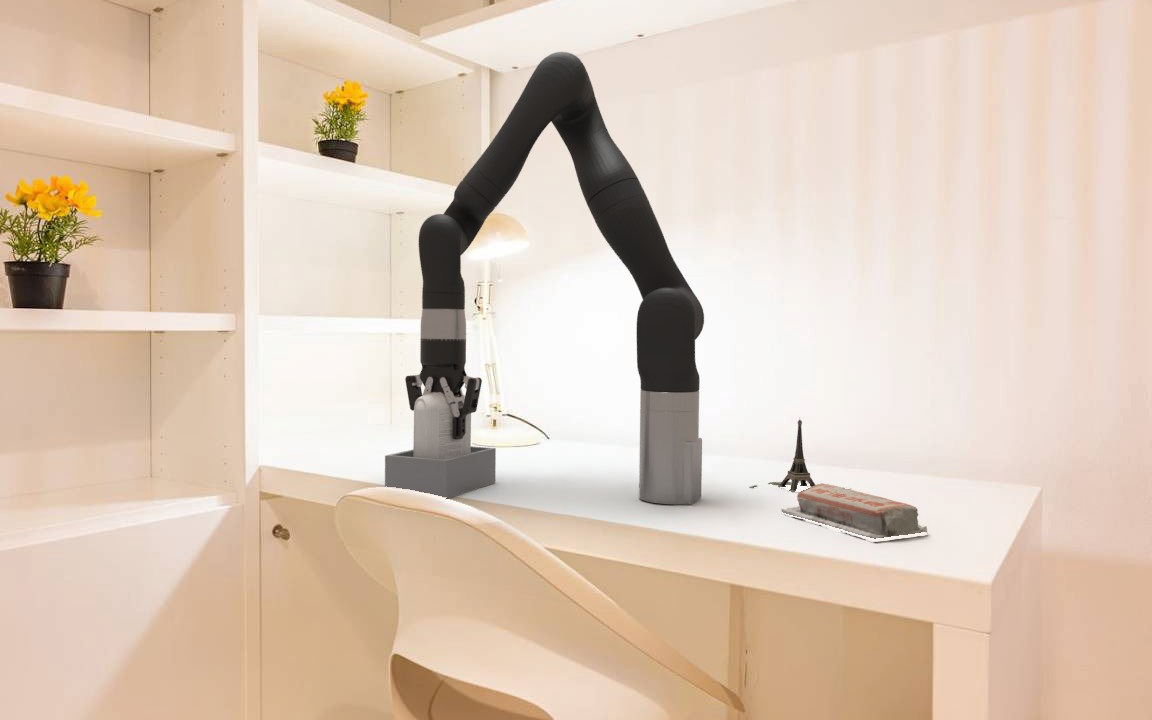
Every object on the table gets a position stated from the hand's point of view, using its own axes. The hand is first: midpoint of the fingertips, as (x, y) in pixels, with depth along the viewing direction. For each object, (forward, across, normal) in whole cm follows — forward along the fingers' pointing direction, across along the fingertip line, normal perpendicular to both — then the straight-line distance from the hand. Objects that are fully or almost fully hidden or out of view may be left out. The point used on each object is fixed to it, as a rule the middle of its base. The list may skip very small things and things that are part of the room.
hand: (442, 437), depth 135 cm
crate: (+8, 0, 0) cm, 8 cm away
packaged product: (+9, -65, -3) cm, 66 cm away
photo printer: (+5, 0, 0) cm, 5 cm away
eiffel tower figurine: (+9, -55, -27) cm, 62 cm away
